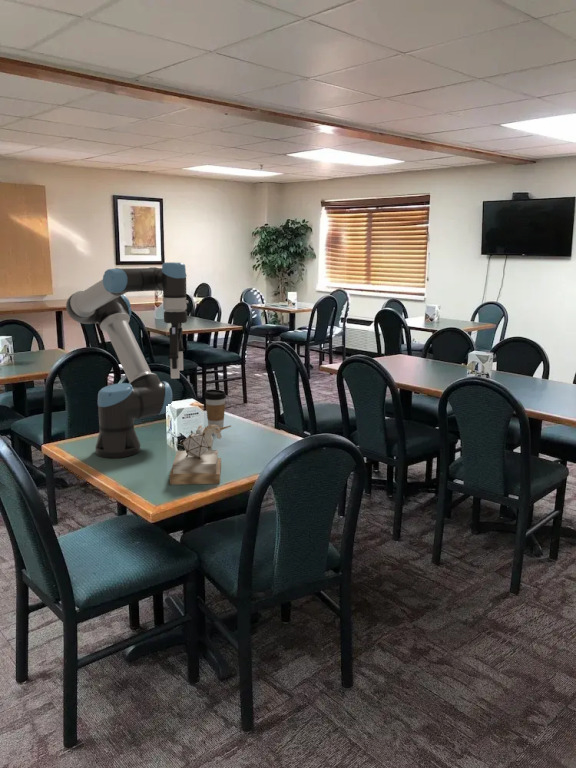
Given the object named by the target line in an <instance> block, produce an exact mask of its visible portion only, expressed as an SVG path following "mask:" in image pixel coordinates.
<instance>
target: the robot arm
mask: <svg viewBox="0 0 576 768" xmlns="http://www.w3.org/2000/svg"><path fill="white" fill-rule="evenodd" d="M186 269H187V268H186V264H185V263H184V262H164V263H162V264H161V267H142V268H140V267H138V268H137V267H135V268H133V267H131V268H129V267H128V268H126V267H125V268H124V267H123V268H118V267H115V268H108V269H106V270H105V271H104V274H103V275H102V279H101V280H99V281H98V282H96V283H94V284H92V285H91V286H90V287H88V288H87V289H86V288H85V290H78V291H76V292H74V293H72V294H71V295H70V296H69V297H68V299H67V301H66V303H65V305H66V306H65V309H66V312H67V314H68V316H69V317H70V318H71V319H72V320H73V321H75V322H77V323H78V324H82V325H83V324H84V325H92V324H98V326H99V329H100V330H101V331H103V332H104V333H106V334H107V335H108V338H109V340H110V343H111V345H112V347H113V349H114V351H115V354H116V356H117V358H118V361H119V362H120V365H121V367H122V368H123V371H124V373H125V375H126V378H127V380H128V383H127V382H120V383H113V384H109V385H105V386H104V387H102V388H101V389H100V390H99V391H98V394H97V403H96V404H97V408H98V409H97V410H98V411H97V413H98V423H99V424H98V425H99V434H98V437H97V441H96V443H95V454H96V456H98V457H101V458H105V459H106V458H107V459H119V458H127V457H130V456H134V455H137V454H139V452H140V451H141V443H140V440H139V438H138V436H137V433H136V431H135V420H139V419H143V418H144V419H145V418H150V417H155V416H156V417H157V416H159V415H162V414H166V413H167V412H166V406H168V404H171V403H173V391H172V387H171V385H170V384H169V382H167V381H164V380H162V381H161V380H160V378H159V376H158V375H157V373H154V372H152V371H151V369H150V366H149V364H148V363H147V361H146V359H145V356H144V354H143V351H142V350H141V348H140V346H139V344H138V342H137V340H136V337H135V334H134V333H133V331H132V329H131V326H130V324H129V323H130V320H131V319H130V318H131V316H132V308H131V303H130V300H129V298H128V296H127V295H126V294H127V293H133V292H134V293H135V292H155V291H157V292H162V294H163V295H162V304H163V305H162V307H163V310H165V311H163V322H164V323H165V324H170V325H171V327H169V329H168V330H169V332H168V333H169V355H168V356H167V359H168V360H169V363H170V364H169V366H170V367H169V368H170V379H175V380H176V379H180V378H181V377H180V371H184V353H183V352H185V350H186V349H185V347H184V345H183V344H184V342H183V340H184V339H183V327H182V325H183V324H185V323H187V322H188V312H187V309H188V305H187V304H189V299H188V300H187V272H186ZM171 405H172V404H171Z"/></svg>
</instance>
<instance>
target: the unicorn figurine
mask: <svg viewBox="0 0 576 768" xmlns="http://www.w3.org/2000/svg"><path fill="white" fill-rule="evenodd" d="M218 426H219V425H208V424H207V426H205V427H202V425H199V426H198V427H197V429H196V431H195V433H196V434H201V435H203V434H204V433H205V435H204V437H205V440H206V442H207V444H208V447H211V448H208V449H207V450H213V445H214V438H213V436H212V434H213V435H214V436H216V438H217V439H219V440H220V439H221V438H222V433H221V431H223V430H225V429H228V428H231V427H232V424H230V425H227V426H223V428H219V427H218Z"/></svg>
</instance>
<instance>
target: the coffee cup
mask: <svg viewBox="0 0 576 768" xmlns="http://www.w3.org/2000/svg"><path fill="white" fill-rule="evenodd" d="M226 398H227V395H226V391H225V390H221V389H213V388H210V389H206V390H205V393H204V399H205V408H206V409H205V410H206V416H207V417H206V418H207V426H208V425H219V426H218V427H219V428H223V427H224V425H225V424H224V421H225V410H226Z"/></svg>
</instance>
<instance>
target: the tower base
mask: <svg viewBox="0 0 576 768" xmlns="http://www.w3.org/2000/svg"><path fill="white" fill-rule="evenodd" d="M218 452H219V450H218V449H215V450H214V449H212V450H208V449H207V450H206V451H205V452H204V453H203V454H202V455H201V456H200V460H199V458H198V457H194V456H189V455H188V457H186V456H187V453H186V450H177V451H176V454H175V457H174V460H173V463H172V466H171V469H170V473H169V485H170V484H173V485H172V486H174V484H175V485H212V484H213V485H215V484H216V485H217V484H218V485H219V484H220V482H221V474H222V457H219V453H218Z"/></svg>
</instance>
